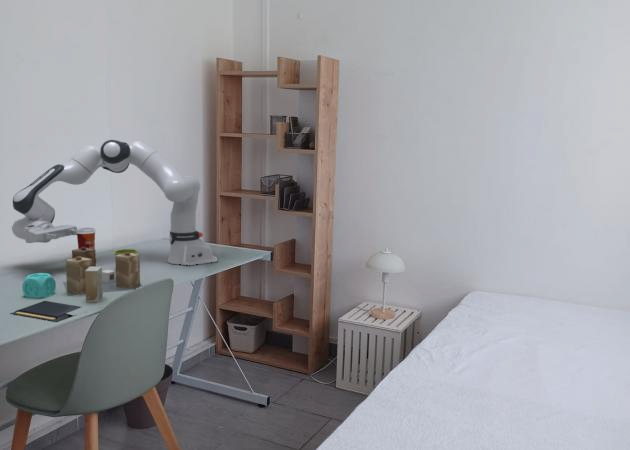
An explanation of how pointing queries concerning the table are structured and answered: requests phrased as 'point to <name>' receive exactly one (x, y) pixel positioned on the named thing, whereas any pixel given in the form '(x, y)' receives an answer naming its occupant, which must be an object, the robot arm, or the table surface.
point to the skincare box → (93, 284)
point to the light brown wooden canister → (77, 274)
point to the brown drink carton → (85, 254)
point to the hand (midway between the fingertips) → (66, 234)
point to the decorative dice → (39, 285)
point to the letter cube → (108, 276)
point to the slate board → (105, 288)
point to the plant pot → (125, 251)
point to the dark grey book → (47, 311)
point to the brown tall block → (127, 270)
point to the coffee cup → (86, 237)
